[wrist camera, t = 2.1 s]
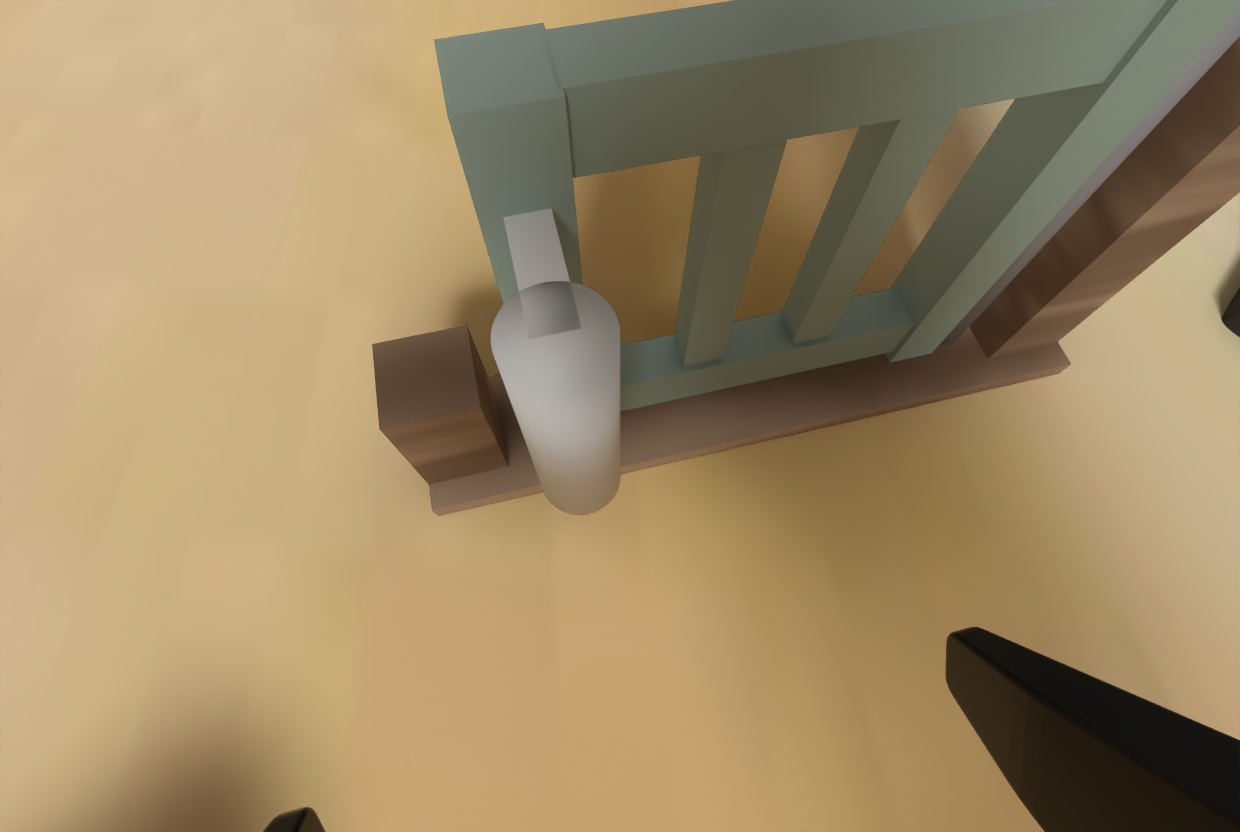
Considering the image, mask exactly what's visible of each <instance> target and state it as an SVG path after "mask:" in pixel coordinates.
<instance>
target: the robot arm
mask: <svg viewBox="0 0 1240 832" xmlns="http://www.w3.org/2000/svg"><path fill="white" fill-rule="evenodd" d="M946 681H947V684H948V687H949V690H950V692H951V693H952V695H953V697H954V698H955V700H956V701H957V703H958V705H959V706H960V708H961V709H962V711H963V712H964V714H965V716H966V717H967V719H968V720H969V722H970V723H971V725H972V726H973V728H974V730H975V731H976V733H977V734H978V736H979V737H980V739H981V740H982V742H983V744H984V745H985V747H986V748H987V750H988V751H989V753H990V754H991V756H992V758H993V759H994V761H995V762H996V764H997V765H998V767H999V768H1000V770H1001V772H1002V773H1003V775H1004V776H1005V778H1006V779H1007V781H1008V782H1009V784H1010V785H1011V787H1012V788H1013V790H1014V791H1015V793H1016V794H1017V796H1018V797H1019V799H1020V800H1021V801H1022V803H1023V804H1024V805H1025V807H1026V808H1027V809H1028V811H1029V812H1030V813H1031V815H1032V816H1033V817H1034V819H1035V820H1036V821H1037V822H1038V824H1039V825H1040V826H1041V828H1042V829H1043V830H1044V832H1240V740H1238V739H1236V738H1233V737H1231V736H1229V735H1226V734H1224V733H1222V732H1219V731H1217V730H1215V729H1213V728H1210V727H1208V726H1206V725H1203V724H1201V723H1199V722H1196V721H1194V720H1192V719H1189V718H1187V717H1185V716H1183V715H1180V714H1178V713H1176V712H1173V711H1171V710H1169V709H1166V708H1164V707H1162V706H1160V705H1157V704H1155V703H1153V702H1150V701H1148V700H1146V699H1143V698H1141V697H1139V696H1136V695H1134V694H1132V693H1130V692H1127V691H1125V690H1123V689H1120V688H1118V687H1116V686H1113V685H1111V684H1109V683H1106V682H1104V681H1102V680H1100V679H1097V678H1095V677H1093V676H1090V675H1088V674H1086V673H1083V672H1081V671H1079V670H1076V669H1074V668H1072V667H1070V666H1067V665H1065V664H1063V663H1060V662H1058V661H1056V660H1053V659H1051V658H1049V657H1046V656H1044V655H1042V654H1040V653H1037V652H1035V651H1033V650H1030V649H1028V648H1026V647H1023V646H1021V645H1019V644H1016V643H1014V642H1012V641H1010V640H1007V639H1005V638H1003V637H1000V636H998V635H996V634H993V633H991V632H989V631H986V630H984V629H981V628H978V627H970V628H966V629H963V630H959V631H955V632H952V633H950V634H949V636H948V637H947V642H946ZM263 832H325V830H324V828H323V826H322V824H321V822H320V820H319V818H318V816H317V814H316V812H315V811H314V810H313V809H312V808H310V807H304V808H300V809H297V810H293V811H289V812H285V813H282V814H280V815H278V816H277V817H275V818H274V819H273V820H272V821H271V822H270V824H269V825H268V826H267V827H266V828H265V830H264V831H263Z"/></svg>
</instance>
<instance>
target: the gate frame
mask: <svg viewBox="0 0 1240 832" xmlns="http://www.w3.org/2000/svg"><path fill="white" fill-rule="evenodd" d="M1239 192H1240V37H1239V38H1238V39H1237V40H1236V41H1235V42H1234V43H1233V44H1232V45H1231V46H1230V47H1229V48H1228V49H1227V50H1226V52H1225V53H1224V54H1223V55H1222V56H1221V57H1220V58H1219V59H1218V60H1217V61H1216V62H1215V63H1214V64H1213V65H1212V67H1211V68H1210V69H1209V70H1208V71H1207V72H1206V73H1205V74H1204V75H1203V76H1202V77H1201V78H1200V79H1199V81H1198V82H1197V83H1196V84H1195V85H1194V86H1193V87H1192V88H1191V89H1190V90H1189V91H1188V92H1187V93H1186V94H1185V96H1184V97H1183V98H1182V99H1181V100H1180V101H1179V102H1178V103H1177V104H1176V105H1175V106H1174V107H1173V108H1172V109H1171V111H1170V112H1169V113H1168V114H1167V115H1166V116H1165V117H1164V118H1163V119H1162V120H1161V121H1160V122H1159V123H1158V124H1157V126H1156V127H1155V128H1154V129H1153V130H1152V131H1151V132H1150V133H1149V134H1148V135H1147V136H1146V137H1145V138H1144V139H1143V141H1142V142H1141V143H1140V144H1139V145H1138V146H1137V147H1136V148H1135V149H1134V150H1133V151H1132V152H1131V153H1130V154H1129V156H1128V157H1127V158H1126V159H1125V160H1124V161H1123V162H1122V163H1121V164H1120V165H1119V166H1118V167H1117V168H1116V170H1115V171H1114V172H1113V173H1112V174H1111V175H1110V176H1109V177H1108V178H1107V179H1106V180H1105V181H1104V182H1103V183H1102V185H1101V186H1100V187H1099V188H1098V189H1097V190H1096V191H1095V192H1094V193H1093V194H1092V195H1091V196H1090V197H1089V198H1088V200H1087V201H1086V202H1085V203H1084V204H1083V205H1082V206H1081V207H1080V208H1079V209H1078V210H1077V211H1076V212H1075V213H1074V215H1073V216H1072V217H1071V218H1070V219H1069V220H1068V221H1067V222H1066V223H1065V224H1064V225H1063V226H1062V227H1061V228H1060V230H1059V231H1058V232H1057V233H1056V234H1055V235H1054V236H1053V237H1052V238H1051V239H1050V240H1049V241H1048V242H1047V243H1046V245H1045V246H1044V247H1043V248H1042V249H1041V250H1040V251H1039V252H1038V253H1037V254H1036V255H1035V256H1034V257H1033V258H1032V260H1031V261H1030V262H1029V263H1028V264H1027V265H1026V266H1025V267H1024V268H1023V269H1022V270H1021V271H1020V272H1019V274H1018V275H1017V276H1016V277H1015V278H1014V279H1013V280H1012V281H1011V282H1010V283H1009V284H1008V285H1007V286H1006V287H1005V289H1004V290H1003V291H1002V292H1001V293H1000V294H999V295H998V296H997V297H996V298H995V299H994V300H993V301H992V302H991V304H990V305H989V306H988V307H987V308H986V309H985V310H984V311H983V312H982V313H981V314H980V315H979V316H978V317H977V319H976V320H975V321H974V322H973V323H972V324H971V325H970V326H969V327H968V328H967V329H966V330H965V331H964V332H963V334H962V335H961V336H960V337H959V338H958V339H957V340H956V341H955V342H954V343H952V344H950V345H939V346H938V347H937V348H936V349H935V350H934V351H933V352H932V353H931V354H926V355H922V356H917V357H913V358H908V359H904V360H899V361H894V362H890V363H889V360H888V358H887V356H886V354H880V355H876V356H871V357H867V358H862V359H858V360H853V361H848V362H844V363H839V364H835V365H830V366H826V367H821V368H817V369H812V370H807V371H803V372H798V373H794V374H789V375H785V376H780V377H775V378H771V379H766V380H762V381H757V382H753V383H748V384H744V385H739V386H734V387H730V388H725V389H721V390H716V391H712V392H707V393H702V394H698V395H693V396H689V397H684V398H680V399H675V400H671V401H666V402H661V403H657V404H652V405H648V406H643V407H639V408H634V409H629V410H625V411H620V474H623V473H627V472H631V471H636V470H640V469H644V468H649V467H653V466H658V465H662V464H666V463H671V462H675V461H679V460H684V459H688V458H692V457H697V456H701V455H706V454H710V453H714V452H719V451H723V450H727V449H732V448H736V447H740V446H745V445H749V444H753V443H758V442H762V441H767V440H771V439H775V438H780V437H784V436H788V435H793V434H797V433H801V432H806V431H810V430H814V429H819V428H823V427H828V426H832V425H836V424H841V423H845V422H849V421H854V420H858V419H862V418H867V417H871V416H875V415H880V414H884V413H889V412H893V411H897V410H902V409H906V408H910V407H915V406H919V405H923V404H928V403H932V402H937V401H941V400H945V399H950V398H954V397H958V396H963V395H967V394H971V393H976V392H980V391H984V390H989V389H993V388H998V387H1002V386H1006V385H1011V384H1015V383H1019V382H1024V381H1028V380H1032V379H1037V378H1041V377H1045V376H1050V375H1054V374H1059V373H1060V372H1061V371H1063V370H1064V369H1065V368H1067V367H1068V366H1069V365H1071V363H1070V361H1069V360H1068V358H1067V357H1066V355H1065V353H1064V352H1063V350H1062V349H1061V347H1060V345H1059V344H1058V341H1059V340H1060V339H1061V338H1063V337H1064V336H1065V335H1066V334H1067V333H1069V332H1070V331H1071V330H1072V329H1074V328H1075V327H1076V326H1077V325H1078V324H1080V323H1081V322H1082V321H1083V320H1085V319H1086V318H1087V317H1088V316H1089V315H1091V314H1092V313H1093V312H1094V311H1095V310H1097V309H1098V308H1099V307H1100V306H1102V305H1103V304H1104V303H1105V302H1106V301H1108V300H1109V299H1110V298H1111V297H1113V296H1114V295H1115V294H1116V293H1117V292H1119V291H1120V290H1121V289H1122V288H1123V287H1125V286H1126V285H1127V284H1128V283H1130V282H1131V281H1132V280H1133V279H1134V278H1136V277H1137V276H1138V275H1139V274H1141V273H1142V272H1143V271H1144V270H1145V269H1147V268H1148V267H1149V266H1150V265H1152V264H1153V263H1154V262H1155V261H1156V260H1158V259H1159V258H1160V257H1161V256H1162V255H1164V254H1165V253H1166V252H1167V251H1169V250H1170V249H1171V248H1172V247H1173V246H1175V245H1176V244H1177V243H1178V242H1180V241H1181V240H1182V239H1183V238H1184V237H1186V236H1187V235H1188V234H1189V233H1191V232H1192V231H1193V230H1194V229H1195V228H1197V227H1198V226H1199V225H1200V224H1201V223H1203V222H1204V221H1205V220H1206V219H1208V218H1209V217H1210V216H1211V215H1212V214H1214V213H1215V212H1216V211H1217V210H1219V209H1220V208H1221V207H1222V206H1223V205H1225V204H1226V203H1227V202H1228V201H1230V200H1231V199H1232V198H1233V197H1234V196H1236V195H1237V194H1238V193H1239ZM372 347H373V359H374V370H375V382H376V394H377V406H378V417H379V429H380V430H381V431H382V432H383V433H384V434H385V436H386V437H387V438H388V439H389V440H390V441H391V442H392V443H393V445H394V446H395V447H396V448H397V449H398V450H399V451H400V453H401V454H402V455H403V456H404V457H405V458H406V459H407V460H408V462H409V463H410V464H411V465H412V466H413V467H414V468H415V469H416V471H417V472H418V473H419V474H420V475H421V476H422V477H423V478H424V480H425V481H426V482H427V483H428V484H429V489H430V497H431V506H432V510H433V511H434V512H435V514H436V515H437V516H440V515H444V514H448V513H453V512H457V511H461V510H466V509H470V508H475V507H479V506H483V505H488V504H492V503H496V502H501V501H505V500H509V499H514V498H518V497H522V496H527V495H531V494H536V493H540V492H544V491H543V488H542V486H541V483H540V480H539V477H538V475H537V472H536V469H535V467H534V464H533V461H532V458H531V456H530V453H529V450H528V448H527V445H526V442H525V439H524V437H523V434H522V431H521V429H520V426H519V423H518V420H517V418H516V415H515V412H514V410H513V407H512V404H511V401H510V399H509V396H508V393H507V391H506V388H505V385H504V382H503V380H502V377H501V374H500V375H495V376H491V377H488V376H487V373H486V371H485V368H484V366H483V364H482V361H481V359H480V356H479V354H478V351H477V349H476V346H475V344H474V342H473V339H472V337H471V334H470V332H469V329H468V327H467V325H466V326H461V327H456V328H451V329H446V330H441V331H436V332H431V333H426V334H421V335H416V336H411V337H406V338H401V339H396V340H391V341H386V342H381V343H376V344H372Z"/></svg>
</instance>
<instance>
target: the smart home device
mask: <svg viewBox="0 0 1240 832" xmlns="http://www.w3.org/2000/svg"><path fill="white" fill-rule="evenodd" d="M1222 322H1223V323H1224V324H1225V326H1226V327H1227V328H1228V329H1230V330H1231V331H1232V332H1233V333H1235V334H1236V335H1237V336H1239V337H1240V288H1239V290H1238V292H1237V293H1236V295H1235V297H1234V298H1233V300H1232V302H1231V303H1230V305H1229V307H1228V308H1227V310H1226V312H1225V313H1224V315H1223V317H1222Z"/></svg>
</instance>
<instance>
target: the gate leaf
mask: <svg viewBox="0 0 1240 832" xmlns="http://www.w3.org/2000/svg"><path fill="white" fill-rule="evenodd" d="M1239 37H1240V0H734V1H728V2H721V3H715V4H708V5H702V6H695V7H689V8H682V9H676V10H670V11H663V12H657V13H650V14H644V15H637V16H631V17H624V18H618V19H611V20H605V21H599V22H592V23H586V24H579V25H573V26H566V27H560V28H553V29H547V30H546V29H545V26H544V23H539V24H533V25H526V26H520V27H513V28H507V29H500V30H494V31H487V32H481V33H474V34H468V35H461V36H455V37H448V38H442V39H435V40H434V42H435V48H436V53H437V59H438V65H439V70H440V76H441V81H442V87H443V93H444V98H445V104H446V110H447V115H448V119H449V122H450V126H451V129H452V132H453V136H454V139H455V143H456V146H457V149H458V153H459V156H460V159H461V163H462V166H463V170H464V173H465V176H466V180H467V183H468V187H469V190H470V193H471V197H472V200H473V203H474V207H475V210H476V214H477V217H478V220H479V224H480V227H481V230H482V234H483V237H484V241H485V244H486V247H487V251H488V254H489V258H490V261H491V264H492V268H493V271H494V274H495V278H496V281H497V285H498V288H499V291H500V295H501V298H502V301H503V306H502V308H501V309H500V310H499V312H498V314H497V316H496V317H495V320H494V322H493V325H492V330H491V348H492V352H493V355H494V358H495V361H496V363H497V366H498V369H499V371H500V374H501V377H502V380H503V382H504V385H505V388H506V391H507V393H508V396H509V399H510V401H511V404H512V407H513V410H514V412H515V415H516V418H517V420H518V423H519V426H520V429H521V431H522V434H523V437H524V439H525V442H526V445H527V448H528V450H529V453H530V456H531V458H532V461H533V464H534V467H535V469H536V472H537V475H538V477H539V480H540V483H541V486H542V488H543V491H544V493H545V495H546V497H547V499H548V500H549V501H550V502H551V503H552V504H553V505H554V506H555V507H556V508H558V509H559V510H561V511H563V512H566V513H569V514H573V515H585V514H590V513H594V512H596V511H598V510H600V509H602V508H604V507H605V506H606V505H607V504H608V503H609V502H610V501H611V500H612V499H613V498H614V496H615V494H616V493H617V490H618V488H619V484H620V411H625V410H629V409H634V408H639V407H643V406H648V405H652V404H657V403H661V402H666V401H671V400H675V399H680V398H684V397H689V396H693V395H698V394H702V393H707V392H712V391H716V390H721V389H725V388H730V387H734V386H739V385H744V384H748V383H753V382H757V381H762V380H766V379H771V378H775V377H780V376H785V375H789V374H794V373H798V372H803V371H807V370H812V369H817V368H821V367H826V366H830V365H835V364H839V363H844V362H848V361H853V360H858V359H862V358H867V357H871V356H876V355H880V354H886V356H887V358H888V360H889V363H890V362H894V361H899V360H904V359H908V358H913V357H917V356H922V355H926V354H931V353H932V352H933V351H934V350H935V349H936V348H937V347H938V346H939V345H950V344H952V343H954V342H955V341H956V340H957V339H958V338H959V337H960V336H961V335H962V334H963V332H964V331H965V330H966V329H967V328H968V327H969V326H970V325H971V324H972V323H973V322H974V321H975V320H976V319H977V317H978V316H979V315H980V314H981V313H982V312H983V311H984V310H985V309H986V308H987V307H988V306H989V305H990V304H991V302H992V301H993V300H994V299H995V298H996V297H997V296H998V295H999V294H1000V293H1001V292H1002V291H1003V290H1004V289H1005V287H1006V286H1007V285H1008V284H1009V283H1010V282H1011V281H1012V280H1013V279H1014V278H1015V277H1016V276H1017V275H1018V274H1019V272H1020V271H1021V270H1022V269H1023V268H1024V267H1025V266H1026V265H1027V264H1028V263H1029V262H1030V261H1031V260H1032V258H1033V257H1034V256H1035V255H1036V254H1037V253H1038V252H1039V251H1040V250H1041V249H1042V248H1043V247H1044V246H1045V245H1046V243H1047V242H1048V241H1049V240H1050V239H1051V238H1052V237H1053V236H1054V235H1055V234H1056V233H1057V232H1058V231H1059V230H1060V228H1061V227H1062V226H1063V225H1064V224H1065V223H1066V222H1067V221H1068V220H1069V219H1070V218H1071V217H1072V216H1073V215H1074V213H1075V212H1076V211H1077V210H1078V209H1079V208H1080V207H1081V206H1082V205H1083V204H1084V203H1085V202H1086V201H1087V200H1088V198H1089V197H1090V196H1091V195H1092V194H1093V193H1094V192H1095V191H1096V190H1097V189H1098V188H1099V187H1100V186H1101V185H1102V183H1103V182H1104V181H1105V180H1106V179H1107V178H1108V177H1109V176H1110V175H1111V174H1112V173H1113V172H1114V171H1115V170H1116V168H1117V167H1118V166H1119V165H1120V164H1121V163H1122V162H1123V161H1124V160H1125V159H1126V158H1127V157H1128V156H1129V154H1130V153H1131V152H1132V151H1133V150H1134V149H1135V148H1136V147H1137V146H1138V145H1139V144H1140V143H1141V142H1142V141H1143V139H1144V138H1145V137H1146V136H1147V135H1148V134H1149V133H1150V132H1151V131H1152V130H1153V129H1154V128H1155V127H1156V126H1157V124H1158V123H1159V122H1160V121H1161V120H1162V119H1163V118H1164V117H1165V116H1166V115H1167V114H1168V113H1169V112H1170V111H1171V109H1172V108H1173V107H1174V106H1175V105H1176V104H1177V103H1178V102H1179V101H1180V100H1181V99H1182V98H1183V97H1184V96H1185V94H1186V93H1187V92H1188V91H1189V90H1190V89H1191V88H1192V87H1193V86H1194V85H1195V84H1196V83H1197V82H1198V81H1199V79H1200V78H1201V77H1202V76H1203V75H1204V74H1205V73H1206V72H1207V71H1208V70H1209V69H1210V68H1211V67H1212V65H1213V64H1214V63H1215V62H1216V61H1217V60H1218V59H1219V58H1220V57H1221V56H1222V55H1223V54H1224V53H1225V52H1226V50H1227V49H1228V48H1229V47H1230V46H1231V45H1232V44H1233V43H1234V42H1235V41H1236V40H1237V39H1238V38H1239ZM1010 99H1015V100H1014V101H1013V103H1012V104H1011V106H1010V107H1009V109H1008V110H1007V112H1006V114H1005V115H1004V117H1003V118H1002V120H1001V121H1000V123H999V124H998V126H997V127H996V129H995V130H994V132H993V133H992V135H991V136H990V138H989V139H988V141H987V142H986V144H985V146H984V147H983V149H982V150H981V152H980V153H979V155H978V156H977V158H976V159H975V161H974V162H973V164H972V165H971V167H970V168H969V170H968V171H967V173H966V174H965V176H964V178H963V179H962V181H961V182H960V184H959V185H958V187H957V188H956V190H955V191H954V193H953V194H952V196H951V197H950V199H949V200H948V202H947V203H946V205H945V206H944V208H943V210H942V211H941V213H940V214H939V216H938V217H937V219H936V220H935V222H934V223H933V225H932V226H931V228H930V229H929V231H928V232H927V234H926V235H925V237H924V238H923V240H922V242H921V243H920V245H919V246H918V248H917V249H916V251H915V252H914V254H913V255H912V257H911V258H910V260H909V261H908V263H907V264H906V266H905V267H904V269H903V270H902V272H901V274H900V275H899V277H898V278H897V280H896V281H895V283H894V284H893V286H892V287H891V289H888V290H883V291H878V292H874V293H869V294H864V295H859V296H854V297H852V296H853V294H854V292H855V291H856V289H857V287H858V285H859V284H860V282H861V280H862V278H863V277H864V275H865V273H866V272H867V270H868V268H869V266H870V265H871V263H872V261H873V259H874V258H875V256H876V254H877V252H878V251H879V249H880V247H881V245H882V244H883V242H884V240H885V238H886V237H887V235H888V233H889V231H890V230H891V228H892V226H893V224H894V223H895V221H896V219H897V217H898V216H899V214H900V212H901V211H902V209H903V207H904V205H905V204H906V202H907V200H908V198H909V197H910V195H911V193H912V191H913V190H914V188H915V186H916V184H917V183H918V181H919V179H920V177H921V176H922V174H923V172H924V170H925V169H926V167H927V165H928V163H929V162H930V160H931V158H932V156H933V155H934V153H935V151H936V150H937V148H938V146H939V144H940V143H941V141H942V139H943V137H944V136H945V134H946V132H947V130H948V129H949V127H950V125H951V123H952V122H953V120H954V118H955V116H956V115H957V113H958V111H959V109H960V108H965V107H971V106H976V105H982V104H988V103H993V102H999V101H1004V100H1010ZM859 126H860V127H859ZM854 127H859V130H858V132H857V134H856V137H855V139H854V142H853V144H852V146H851V149H850V151H849V154H848V156H847V158H846V161H845V163H844V166H843V168H842V170H841V173H840V175H839V178H838V180H837V182H836V185H835V187H834V190H833V192H832V194H831V197H830V199H829V202H828V204H827V206H826V209H825V211H824V213H823V216H822V218H821V221H820V223H819V225H818V228H817V230H816V233H815V235H814V237H813V240H812V242H811V245H810V247H809V249H808V252H807V254H806V257H805V259H804V261H803V264H802V266H801V269H800V271H799V273H798V276H797V278H796V281H795V283H794V285H793V288H792V290H791V293H790V295H789V297H788V300H787V302H786V305H785V307H784V309H783V311H782V312H778V313H773V314H768V315H763V316H758V317H754V318H749V319H744V320H739V321H734V322H733V320H734V316H735V313H736V310H737V306H738V303H739V300H740V296H741V293H742V290H743V286H744V283H745V279H746V276H747V273H748V269H749V266H750V263H751V259H752V256H753V253H754V249H755V246H756V242H757V239H758V236H759V232H760V229H761V226H762V222H763V219H764V216H765V212H766V209H767V205H768V202H769V199H770V195H771V192H772V189H773V185H774V182H775V179H776V175H777V172H778V168H779V165H780V162H781V158H782V155H783V152H784V148H785V145H786V141H787V139H793V138H798V137H804V136H809V135H815V134H821V133H826V132H832V131H837V130H843V129H848V128H854ZM698 155H701V158H700V165H699V172H698V179H697V185H696V192H695V199H694V206H693V212H692V219H691V226H690V233H689V239H688V246H687V253H686V260H685V267H684V273H683V280H682V287H681V294H680V300H679V307H678V314H677V321H676V328H675V334H672V335H667V336H662V337H658V338H653V339H648V340H643V341H638V342H634V343H629V344H624V345H620V326H619V321H618V318H617V315H616V313H615V311H614V310H613V308H612V307H611V305H610V304H609V303H608V301H607V300H606V299H605V298H604V297H602V296H601V295H600V294H599V293H597V292H596V291H594V290H592V289H591V288H588V287H586V286H584V285H582V274H581V263H580V252H579V241H578V230H577V219H576V208H575V197H574V186H573V178H576V177H581V176H587V175H592V174H598V173H603V172H609V171H615V170H620V169H626V168H631V167H637V166H642V165H648V164H654V163H659V162H665V161H670V160H676V159H681V158H687V157H693V156H698Z"/></svg>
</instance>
